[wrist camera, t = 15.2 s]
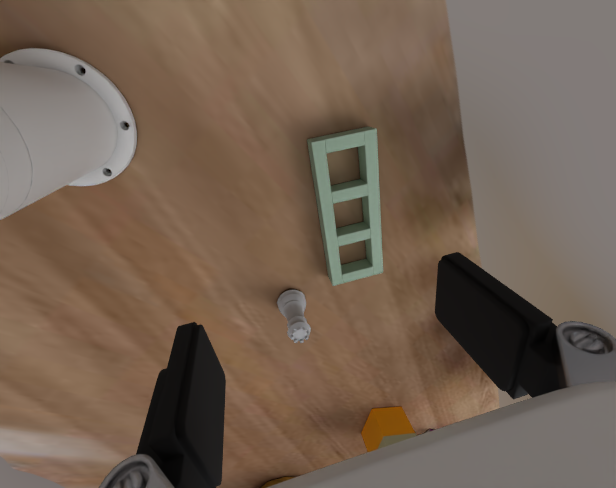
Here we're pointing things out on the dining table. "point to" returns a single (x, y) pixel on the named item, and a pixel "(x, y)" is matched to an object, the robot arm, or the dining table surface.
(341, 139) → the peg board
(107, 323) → the dining table surface
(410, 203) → the dining table surface
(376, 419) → the orange juice
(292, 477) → the pitcher
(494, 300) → the robot arm
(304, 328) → the rook chess piece
